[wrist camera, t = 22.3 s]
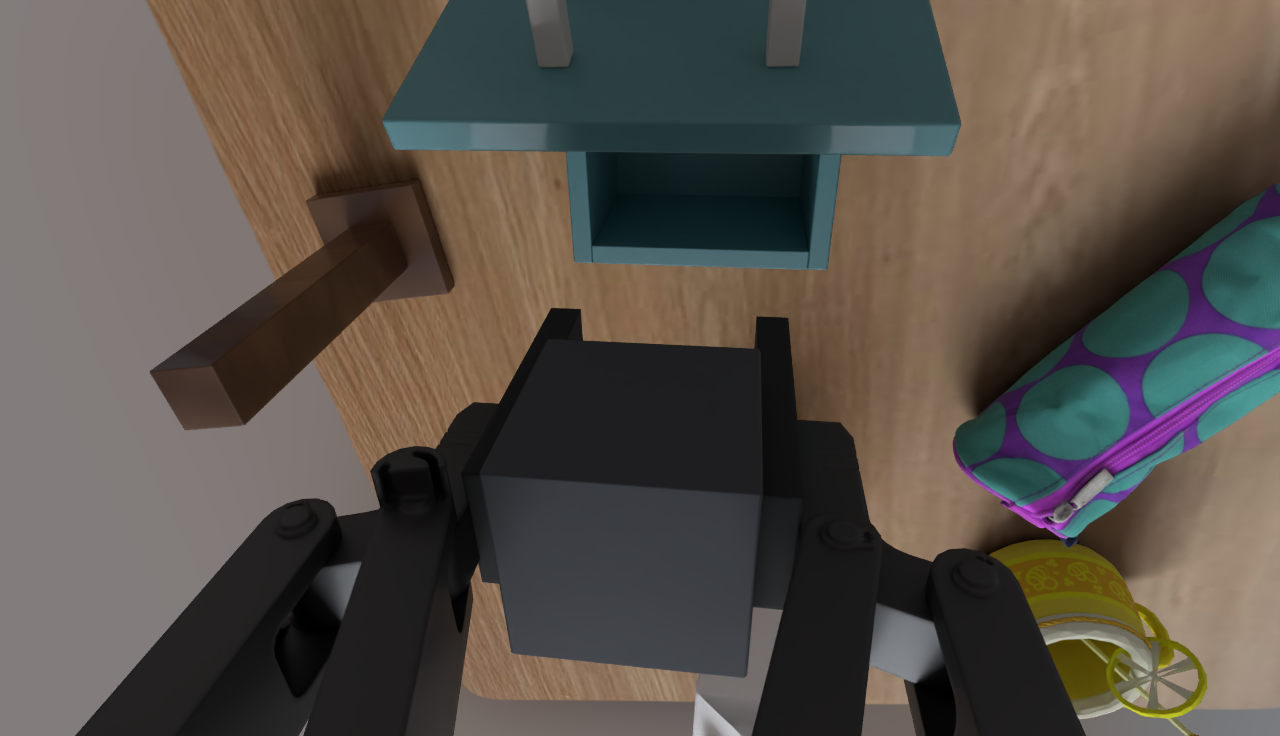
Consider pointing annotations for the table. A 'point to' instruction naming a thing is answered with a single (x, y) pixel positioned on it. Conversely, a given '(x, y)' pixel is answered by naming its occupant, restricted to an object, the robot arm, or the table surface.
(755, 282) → the table surface
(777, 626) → the milk carton
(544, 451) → the block
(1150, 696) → the yellow pot
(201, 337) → the post stand
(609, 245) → the chest
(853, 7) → the lid
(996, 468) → the pencil case
